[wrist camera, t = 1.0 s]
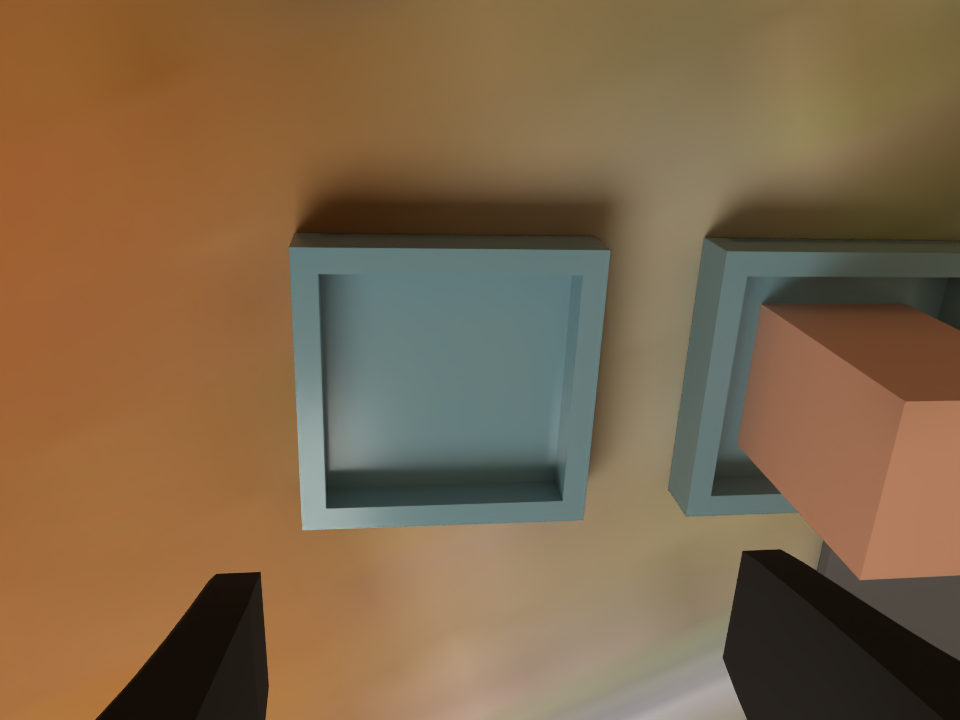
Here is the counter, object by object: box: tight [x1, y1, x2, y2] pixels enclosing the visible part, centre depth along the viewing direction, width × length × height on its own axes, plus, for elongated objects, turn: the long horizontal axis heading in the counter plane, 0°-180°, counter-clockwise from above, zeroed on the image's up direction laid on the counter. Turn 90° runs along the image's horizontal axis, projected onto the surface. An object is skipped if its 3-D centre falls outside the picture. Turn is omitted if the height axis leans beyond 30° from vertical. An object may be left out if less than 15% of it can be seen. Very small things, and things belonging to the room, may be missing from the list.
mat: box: [817, 541, 960, 661], centre depth 26 cm, size 9×9×1 cm
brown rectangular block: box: [737, 304, 960, 580], centre depth 19 cm, size 4×4×6 cm
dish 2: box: [668, 238, 960, 517], centre depth 21 cm, size 7×7×1 cm
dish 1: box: [289, 233, 611, 530], centre depth 20 cm, size 7×7×1 cm
